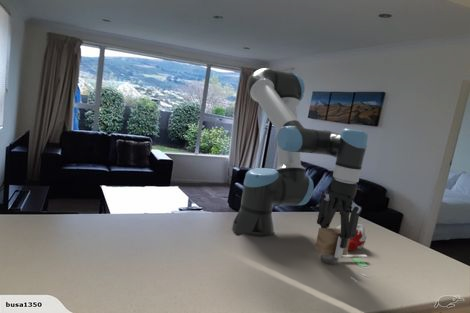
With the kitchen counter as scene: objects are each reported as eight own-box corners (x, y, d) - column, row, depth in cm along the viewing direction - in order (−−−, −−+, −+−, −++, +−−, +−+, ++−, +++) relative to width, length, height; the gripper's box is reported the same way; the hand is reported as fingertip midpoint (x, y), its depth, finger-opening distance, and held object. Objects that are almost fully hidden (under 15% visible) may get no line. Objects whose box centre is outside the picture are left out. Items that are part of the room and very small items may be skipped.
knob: (321, 265, 102) (327, 234, 100) (312, 257, 107) (318, 227, 105) (370, 264, 108) (377, 235, 106) (360, 256, 113) (366, 228, 111)
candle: (360, 242, 129) (366, 263, 114) (330, 235, 131) (332, 255, 116) (366, 221, 126) (373, 240, 112) (335, 214, 128) (338, 232, 114)
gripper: (379, 188, 97) (362, 264, 100) (329, 172, 111) (315, 239, 115) (364, 189, 92) (347, 268, 96) (313, 172, 107) (300, 241, 110)
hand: (330, 252), depth 105 cm, fingers closed on knob, 5 cm apart
